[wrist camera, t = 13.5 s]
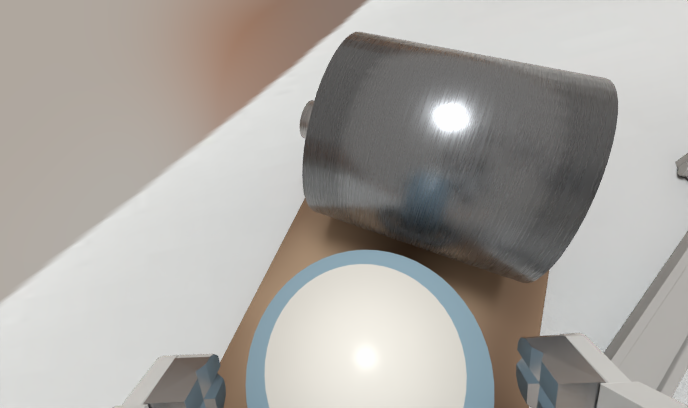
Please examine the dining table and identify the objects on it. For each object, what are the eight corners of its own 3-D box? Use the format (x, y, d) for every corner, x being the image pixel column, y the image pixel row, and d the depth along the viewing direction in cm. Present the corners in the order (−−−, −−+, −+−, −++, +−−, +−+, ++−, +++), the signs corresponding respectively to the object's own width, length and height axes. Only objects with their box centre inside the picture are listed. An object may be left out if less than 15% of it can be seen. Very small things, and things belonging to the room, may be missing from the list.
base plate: (555, 181, 21) (563, 172, 20) (489, 600, 13) (498, 616, 12) (348, 126, 24) (347, 116, 24) (194, 429, 16) (183, 432, 15)
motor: (528, 163, 21) (623, 27, 13) (499, 303, 17) (609, 234, 9) (347, 116, 24) (332, -18, 16) (290, 227, 20) (233, 125, 12)
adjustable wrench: (573, 530, 14) (598, 548, 12) (455, 394, 17) (462, 395, 15) (829, 181, 20) (868, 164, 18) (711, 121, 23) (736, 102, 21)
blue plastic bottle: (439, 341, 16) (558, 269, 6) (407, 463, 14) (499, 701, 4) (341, 301, 18) (291, 183, 7) (298, 408, 16) (135, 467, 5)
